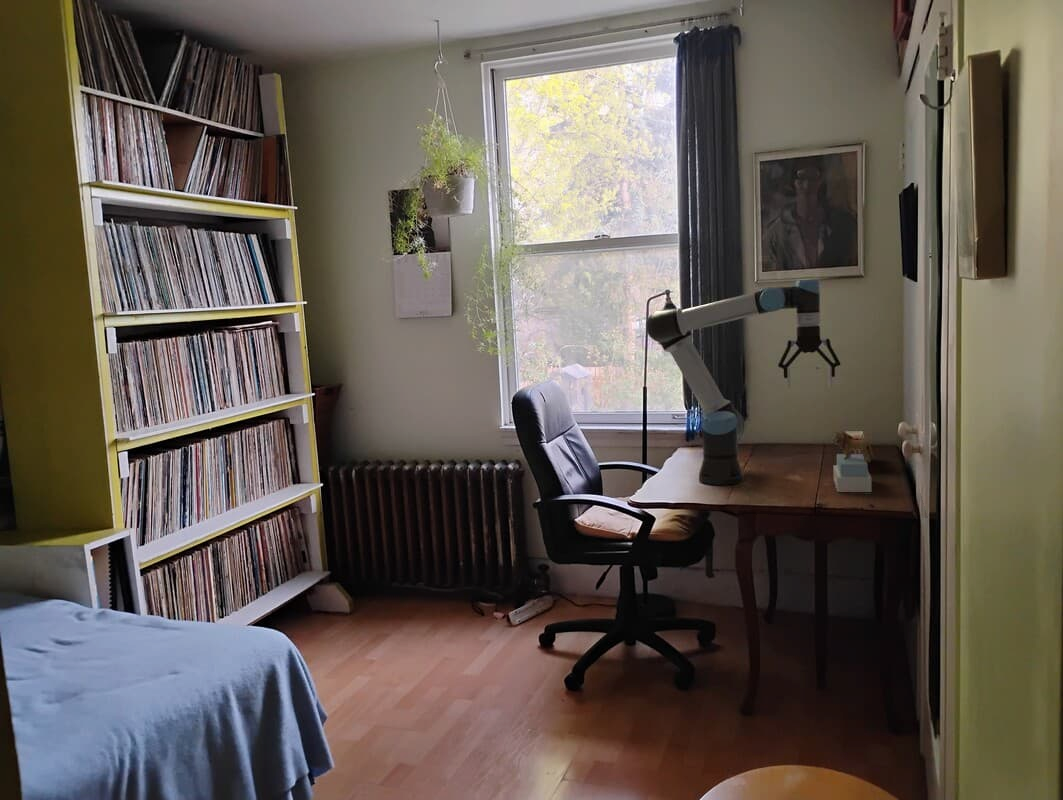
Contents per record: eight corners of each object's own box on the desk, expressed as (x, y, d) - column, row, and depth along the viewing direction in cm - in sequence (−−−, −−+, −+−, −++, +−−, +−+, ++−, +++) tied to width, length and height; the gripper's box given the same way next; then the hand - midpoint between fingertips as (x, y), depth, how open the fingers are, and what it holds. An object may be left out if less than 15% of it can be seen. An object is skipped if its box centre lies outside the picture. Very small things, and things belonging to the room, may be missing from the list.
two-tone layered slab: (837, 492, 268) (837, 465, 267) (833, 479, 286) (833, 453, 284) (871, 493, 266) (871, 465, 264) (865, 479, 283) (865, 453, 282)
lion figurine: (830, 458, 277) (830, 431, 276) (837, 455, 280) (837, 429, 279) (875, 463, 266) (875, 435, 265) (882, 460, 270) (882, 432, 269)
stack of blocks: (847, 459, 317) (847, 426, 315) (865, 459, 314) (865, 426, 313) (843, 471, 298) (842, 436, 296) (862, 471, 295) (862, 437, 293)
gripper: (770, 327, 288) (771, 389, 291) (848, 324, 281) (848, 387, 284) (770, 326, 295) (771, 386, 298) (846, 323, 289) (846, 384, 291)
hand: (809, 387), depth 291 cm, fingers open, 13 cm apart
